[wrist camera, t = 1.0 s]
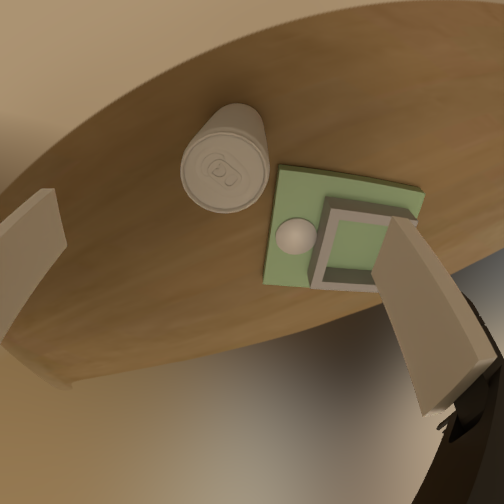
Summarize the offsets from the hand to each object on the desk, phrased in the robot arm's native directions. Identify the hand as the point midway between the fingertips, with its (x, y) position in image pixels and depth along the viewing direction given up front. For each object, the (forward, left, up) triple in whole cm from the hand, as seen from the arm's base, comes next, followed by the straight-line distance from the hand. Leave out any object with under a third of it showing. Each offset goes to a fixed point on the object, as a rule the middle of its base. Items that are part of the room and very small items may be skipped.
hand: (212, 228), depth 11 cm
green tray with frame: (+11, -9, -17) cm, 23 cm away
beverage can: (0, 0, -18) cm, 18 cm away
